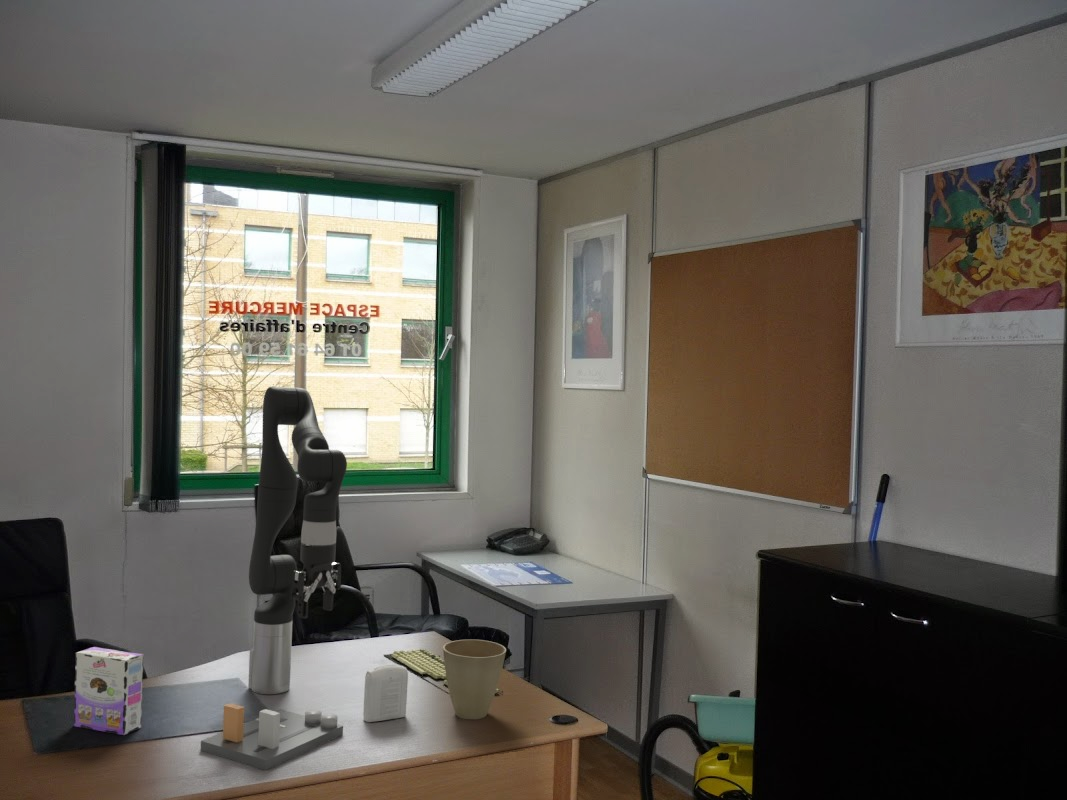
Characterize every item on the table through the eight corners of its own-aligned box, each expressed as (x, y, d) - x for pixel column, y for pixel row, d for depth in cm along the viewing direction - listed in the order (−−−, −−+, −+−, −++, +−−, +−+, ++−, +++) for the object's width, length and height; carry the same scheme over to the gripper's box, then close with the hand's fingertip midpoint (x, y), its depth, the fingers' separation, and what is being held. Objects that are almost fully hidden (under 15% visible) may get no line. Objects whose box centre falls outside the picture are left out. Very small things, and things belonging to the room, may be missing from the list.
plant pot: (438, 724, 235) (441, 655, 234) (441, 703, 249) (444, 638, 249) (503, 726, 235) (507, 657, 235) (502, 705, 250) (505, 640, 250)
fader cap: (222, 738, 214) (223, 705, 214) (229, 735, 216) (230, 703, 215) (236, 742, 212) (238, 709, 212) (243, 740, 214) (244, 706, 213)
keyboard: (382, 658, 287) (383, 649, 287) (428, 652, 295) (429, 644, 295) (463, 706, 250) (464, 696, 250) (513, 698, 258) (514, 688, 258)
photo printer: (400, 712, 242) (402, 660, 241) (408, 717, 238) (411, 665, 238) (360, 718, 236) (362, 665, 236) (368, 724, 233) (370, 670, 232)
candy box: (142, 727, 224) (145, 653, 223) (123, 736, 218) (126, 660, 218) (91, 718, 228) (94, 645, 228) (72, 726, 223) (74, 651, 222)
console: (200, 750, 213) (202, 707, 212) (280, 718, 234) (282, 679, 234) (265, 770, 204) (267, 725, 204) (342, 734, 225) (344, 694, 225)
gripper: (325, 534, 232) (322, 605, 232) (283, 542, 219) (280, 617, 220) (352, 538, 228) (348, 610, 229) (311, 547, 215) (307, 623, 216)
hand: (315, 613), depth 224 cm, fingers open, 8 cm apart
